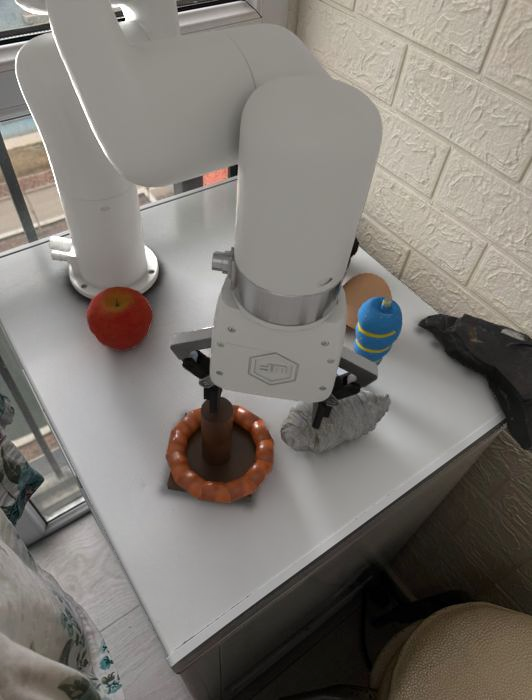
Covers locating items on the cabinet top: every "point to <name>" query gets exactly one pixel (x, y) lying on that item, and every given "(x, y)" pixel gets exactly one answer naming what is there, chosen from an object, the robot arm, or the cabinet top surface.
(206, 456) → the ring stand
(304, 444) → the seashell
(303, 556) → the cabinet top surface
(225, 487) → the ring
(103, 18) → the robot arm
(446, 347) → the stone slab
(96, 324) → the apple
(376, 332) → the ornament
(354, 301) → the egg
